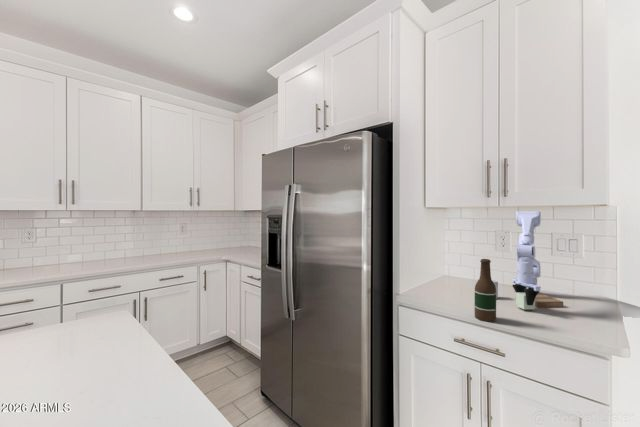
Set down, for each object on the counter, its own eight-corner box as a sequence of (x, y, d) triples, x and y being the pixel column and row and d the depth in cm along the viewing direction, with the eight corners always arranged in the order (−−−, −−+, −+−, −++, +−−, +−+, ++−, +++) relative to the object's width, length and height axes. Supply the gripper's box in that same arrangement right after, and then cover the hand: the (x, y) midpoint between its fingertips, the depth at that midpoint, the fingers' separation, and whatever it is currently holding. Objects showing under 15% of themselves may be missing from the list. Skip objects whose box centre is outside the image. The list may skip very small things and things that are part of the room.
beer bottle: (488, 323, 116) (488, 261, 115) (470, 317, 123) (470, 258, 122) (500, 320, 119) (501, 259, 119) (482, 314, 126) (482, 257, 126)
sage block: (515, 305, 134) (515, 292, 134) (526, 305, 134) (526, 292, 134) (523, 309, 129) (523, 295, 129) (535, 309, 129) (535, 295, 129)
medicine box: (493, 296, 151) (493, 279, 151) (498, 299, 147) (498, 281, 147) (477, 296, 152) (477, 279, 152) (481, 298, 148) (481, 281, 148)
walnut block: (518, 300, 146) (518, 294, 146) (542, 300, 147) (542, 294, 146) (537, 308, 134) (537, 302, 134) (563, 308, 135) (563, 301, 134)
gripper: (505, 269, 139) (505, 298, 139) (528, 276, 124) (528, 308, 124) (520, 268, 139) (520, 298, 139) (545, 275, 124) (545, 308, 125)
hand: (525, 303), depth 132 cm, fingers closed on sage block, 5 cm apart
